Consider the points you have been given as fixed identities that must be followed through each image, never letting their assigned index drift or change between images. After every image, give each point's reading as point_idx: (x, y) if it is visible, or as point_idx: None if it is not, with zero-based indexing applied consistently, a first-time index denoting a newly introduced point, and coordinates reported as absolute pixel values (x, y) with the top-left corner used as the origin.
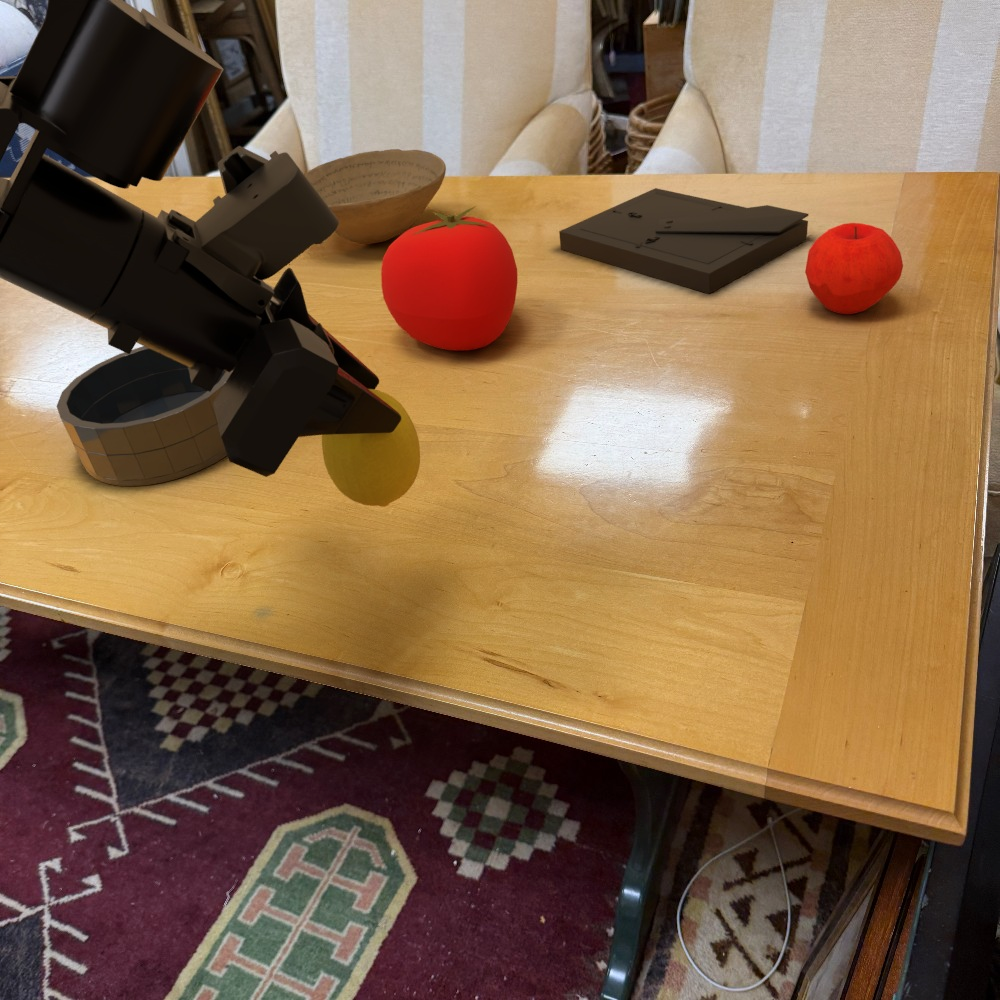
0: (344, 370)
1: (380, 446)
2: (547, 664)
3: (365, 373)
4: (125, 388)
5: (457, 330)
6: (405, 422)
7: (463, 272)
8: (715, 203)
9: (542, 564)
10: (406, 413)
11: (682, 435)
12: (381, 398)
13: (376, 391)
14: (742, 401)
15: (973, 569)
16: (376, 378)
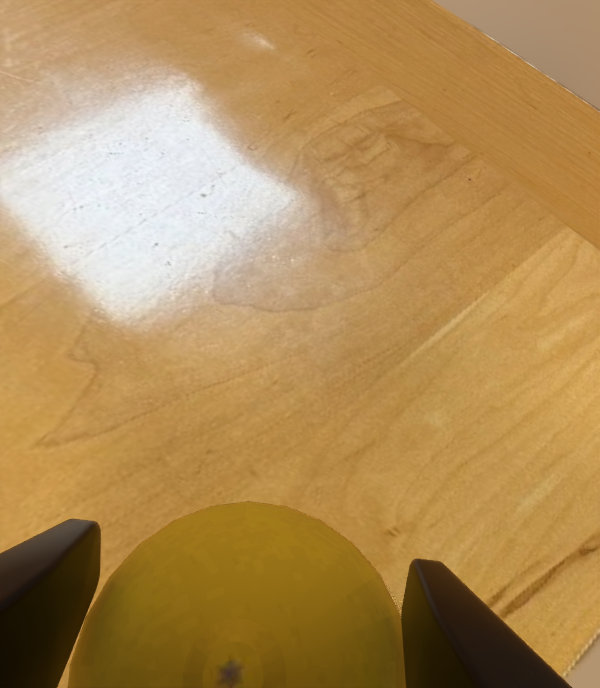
0: (15, 669)
1: None
2: (551, 532)
3: (72, 568)
4: None
5: None
6: (341, 538)
7: None
8: None
9: (343, 430)
10: (291, 512)
11: (203, 145)
12: (286, 581)
13: (222, 578)
14: (193, 66)
15: (583, 99)
16: (91, 529)
